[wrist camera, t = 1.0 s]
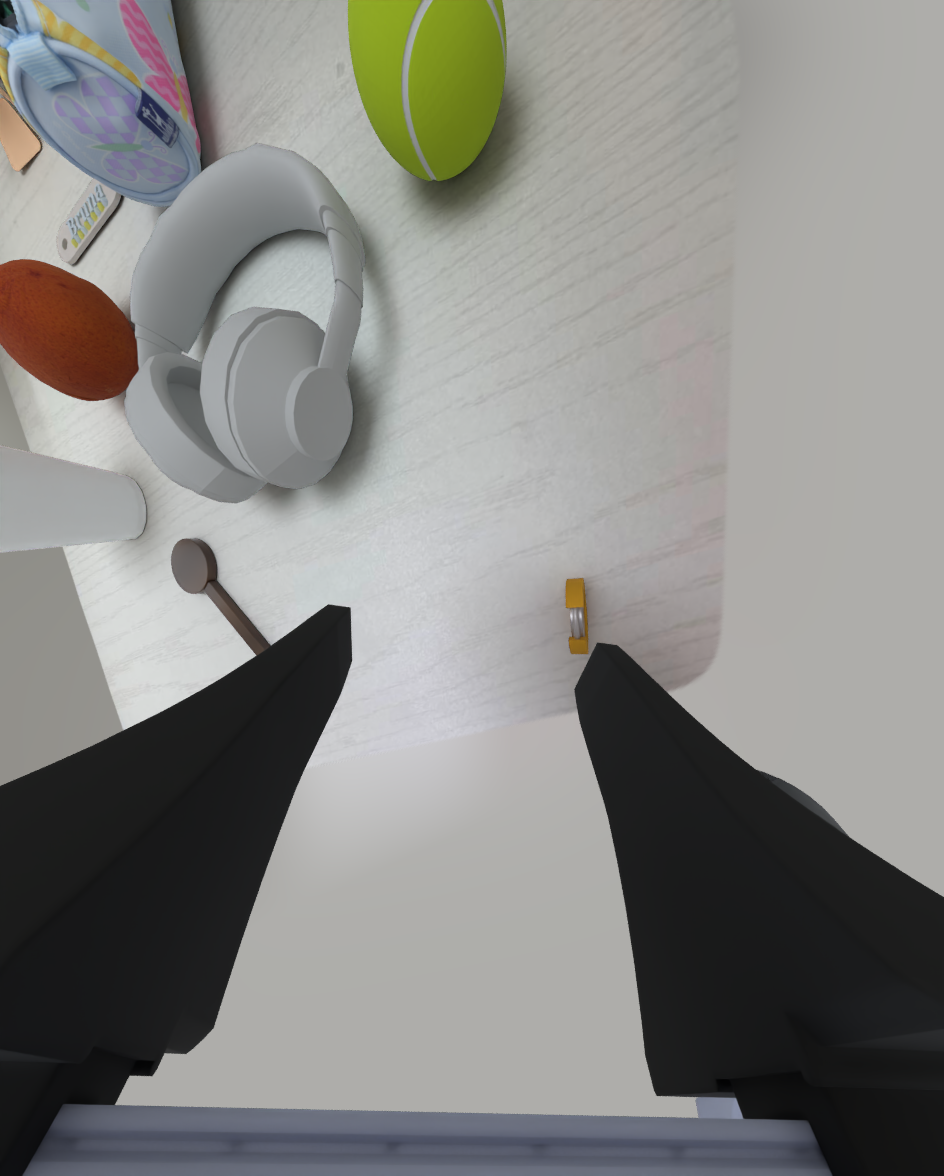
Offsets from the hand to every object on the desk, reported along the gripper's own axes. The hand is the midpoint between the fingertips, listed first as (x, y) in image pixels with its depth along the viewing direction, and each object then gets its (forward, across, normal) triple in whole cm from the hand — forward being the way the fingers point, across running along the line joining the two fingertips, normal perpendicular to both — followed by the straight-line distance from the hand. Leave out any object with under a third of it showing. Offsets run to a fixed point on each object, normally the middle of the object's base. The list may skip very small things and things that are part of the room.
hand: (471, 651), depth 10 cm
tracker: (+9, -7, +4) cm, 12 cm away
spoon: (+16, +18, +15) cm, 28 cm away
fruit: (+29, +32, -3) cm, 44 cm away
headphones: (+22, +15, -5) cm, 27 cm away
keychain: (+35, +37, -13) cm, 52 cm away
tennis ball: (+22, +4, -17) cm, 28 cm away
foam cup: (+25, +34, +10) cm, 43 cm away
